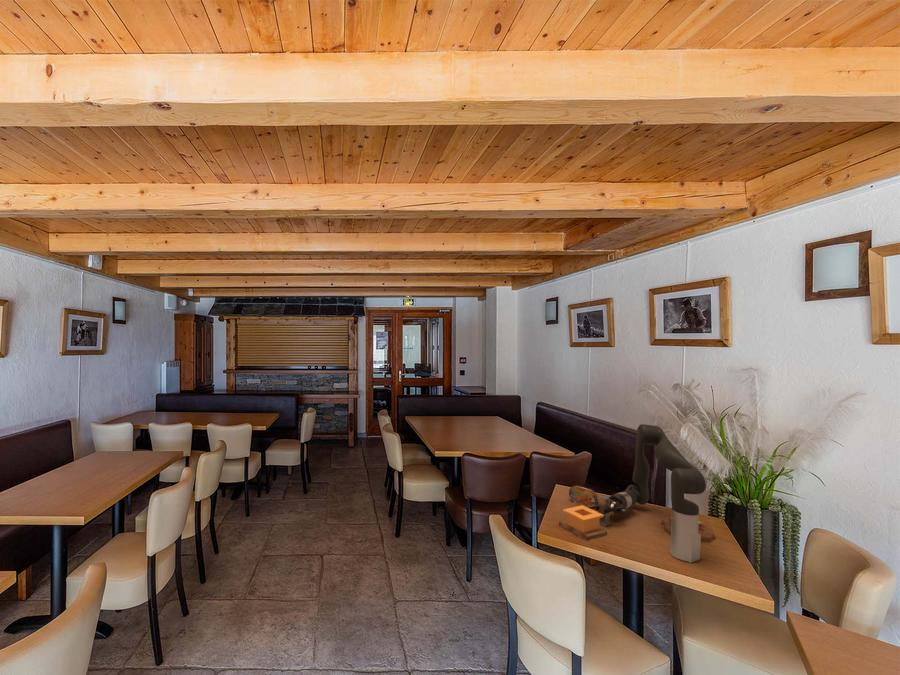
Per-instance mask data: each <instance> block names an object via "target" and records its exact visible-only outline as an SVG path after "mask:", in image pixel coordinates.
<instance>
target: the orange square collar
mask: <svg viewBox="0 0 900 675" xmlns="http://www.w3.org/2000/svg"><path fill="white" fill-rule="evenodd" d="M562 512H563V513H565V514H566V519H565V520H566V524H567V525H569V526H571V527H573V528H575V529H577V530H579V531H581V532H583V533H585V532H588V531H592V530H596V529H599V527H600V525H599V520H600V518H601V517H604V515H603V514H601V513H598V511H596V510H595V509H594V510H593V509H591V507H590V508H589V507H586V506H583V505H578V506H577V505H576V506H573V507H567V508H564V509H562Z"/></svg>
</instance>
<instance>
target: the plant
mask: <svg viewBox="0 0 900 675" xmlns="http://www.w3.org/2000/svg"><path fill="white" fill-rule="evenodd" d="M661 524H663V525H662V526H663V527H664V531H665V533H667V534H668V535H670V536H671V517H662V520H661ZM698 533H699V534H701V543H711V542H712V541H714V540H715V535H716V534H715V532H714V529H712V528H711V527H709V525H707V524H706V523H704V522H702V521H700V520H699V528H698Z"/></svg>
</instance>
